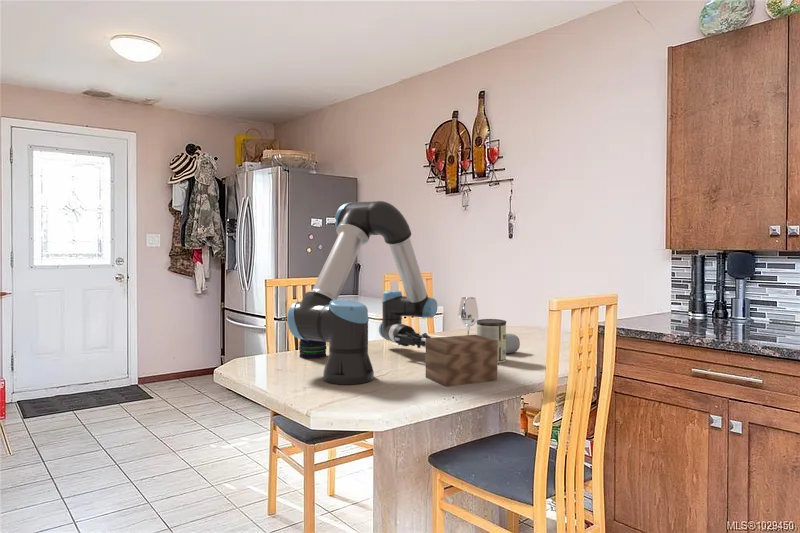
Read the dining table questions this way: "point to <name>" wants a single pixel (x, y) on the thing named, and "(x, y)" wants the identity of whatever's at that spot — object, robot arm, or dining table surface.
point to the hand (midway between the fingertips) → (431, 345)
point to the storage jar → (312, 349)
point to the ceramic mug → (512, 343)
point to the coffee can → (494, 334)
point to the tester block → (461, 359)
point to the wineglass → (468, 312)
